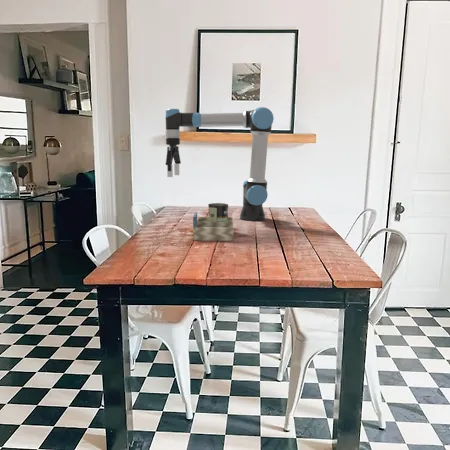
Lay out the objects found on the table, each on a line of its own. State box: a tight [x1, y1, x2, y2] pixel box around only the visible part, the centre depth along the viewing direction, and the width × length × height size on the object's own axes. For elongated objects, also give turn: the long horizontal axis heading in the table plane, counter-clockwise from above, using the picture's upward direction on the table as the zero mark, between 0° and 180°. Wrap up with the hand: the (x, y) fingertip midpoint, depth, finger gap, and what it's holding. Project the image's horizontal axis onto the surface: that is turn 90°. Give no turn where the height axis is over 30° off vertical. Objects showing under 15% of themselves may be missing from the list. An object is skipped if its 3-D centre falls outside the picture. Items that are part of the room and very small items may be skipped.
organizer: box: [192, 212, 235, 242], centre depth 237 cm, size 19×32×11 cm, turn 0°
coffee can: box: [208, 202, 229, 222], centre depth 244 cm, size 10×10×14 cm
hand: (173, 176), depth 262 cm, fingers open, 13 cm apart
